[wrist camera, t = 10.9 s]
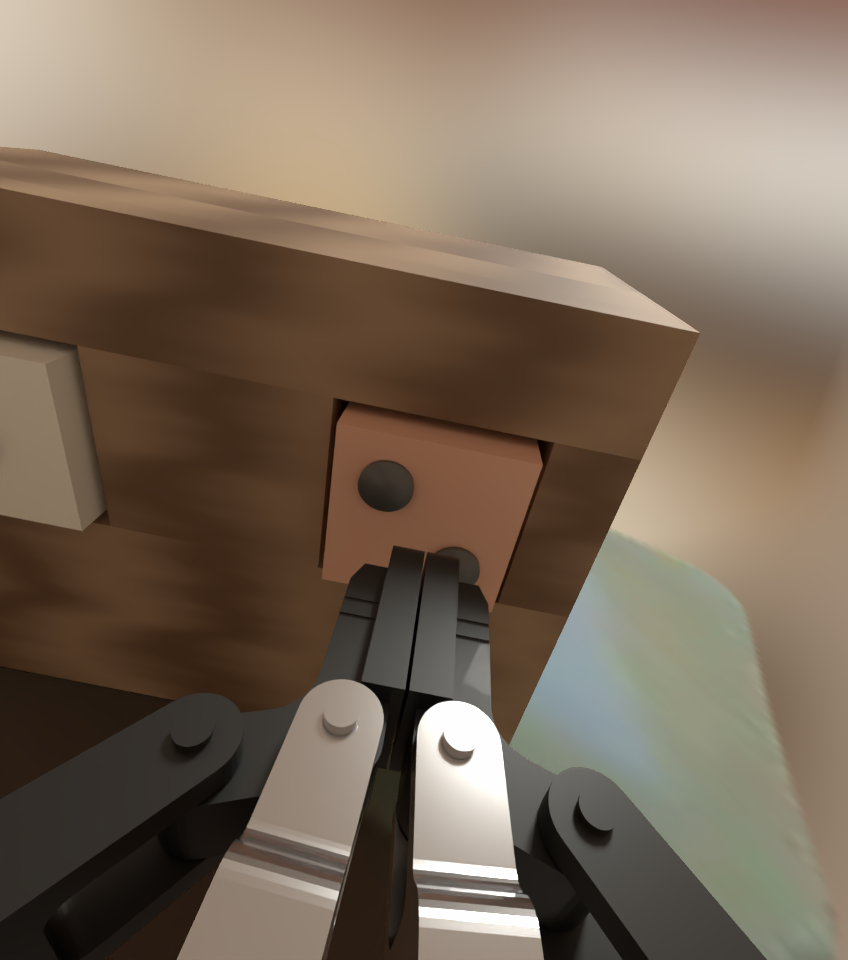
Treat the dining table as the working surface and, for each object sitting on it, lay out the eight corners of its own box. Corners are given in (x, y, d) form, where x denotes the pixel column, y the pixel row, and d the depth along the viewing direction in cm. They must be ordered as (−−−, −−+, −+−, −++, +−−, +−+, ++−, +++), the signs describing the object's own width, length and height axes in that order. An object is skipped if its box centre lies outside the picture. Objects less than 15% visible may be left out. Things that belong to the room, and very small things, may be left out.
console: (-59, 654, 19) (-317, 122, 11) (106, 510, 28) (39, 150, 19) (499, 763, 20) (700, 333, 11) (493, 587, 28) (601, 267, 19)
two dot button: (320, 583, 14) (334, 426, 12) (357, 488, 19) (374, 359, 16) (491, 617, 14) (543, 469, 12) (488, 514, 19) (525, 390, 16)
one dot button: (-98, 500, 14) (-176, 323, 12) (40, 424, 19) (6, 284, 16) (77, 535, 14) (38, 366, 12) (173, 451, 19) (160, 316, 16)
